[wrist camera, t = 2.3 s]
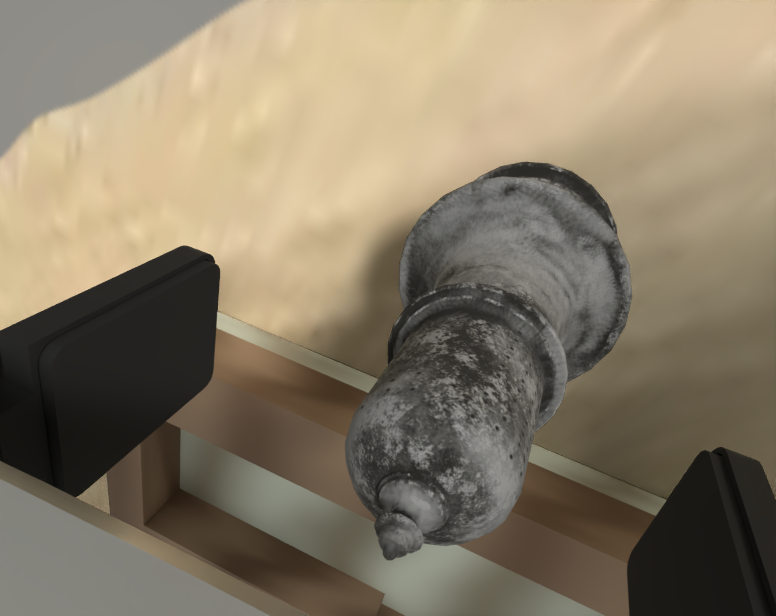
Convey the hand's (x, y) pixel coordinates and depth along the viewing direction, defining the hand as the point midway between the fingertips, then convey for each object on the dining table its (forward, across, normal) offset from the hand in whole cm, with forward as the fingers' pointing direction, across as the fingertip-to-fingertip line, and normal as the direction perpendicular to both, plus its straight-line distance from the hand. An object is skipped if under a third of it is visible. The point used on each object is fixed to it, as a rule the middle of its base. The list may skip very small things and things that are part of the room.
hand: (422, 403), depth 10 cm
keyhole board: (+9, +1, +13) cm, 16 cm away
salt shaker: (+8, -1, -1) cm, 9 cm away
